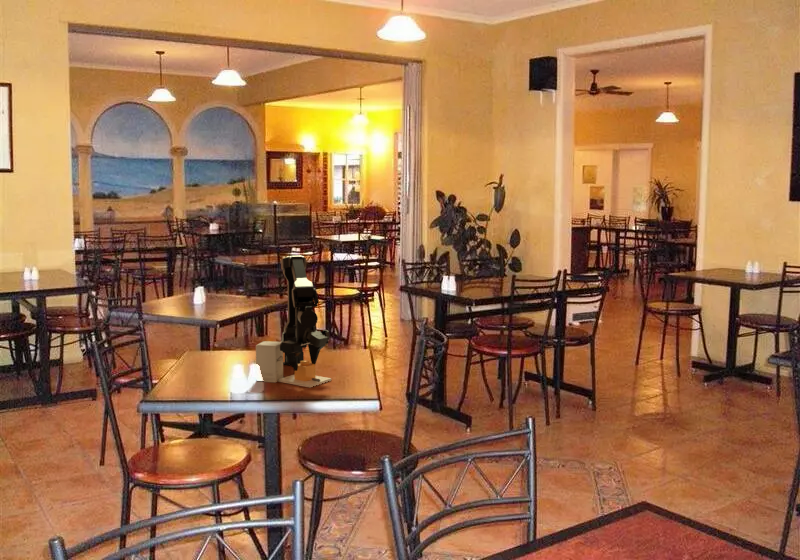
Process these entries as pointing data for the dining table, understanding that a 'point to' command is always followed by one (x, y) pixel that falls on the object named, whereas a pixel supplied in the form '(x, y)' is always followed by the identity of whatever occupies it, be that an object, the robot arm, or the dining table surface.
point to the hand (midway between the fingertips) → (304, 367)
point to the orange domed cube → (305, 371)
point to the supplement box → (270, 360)
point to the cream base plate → (309, 383)
